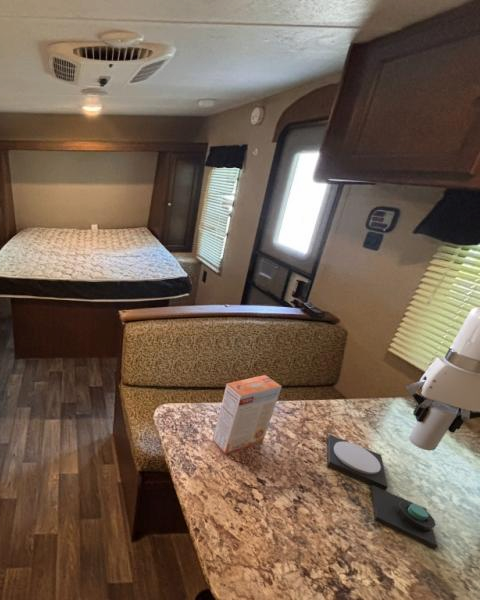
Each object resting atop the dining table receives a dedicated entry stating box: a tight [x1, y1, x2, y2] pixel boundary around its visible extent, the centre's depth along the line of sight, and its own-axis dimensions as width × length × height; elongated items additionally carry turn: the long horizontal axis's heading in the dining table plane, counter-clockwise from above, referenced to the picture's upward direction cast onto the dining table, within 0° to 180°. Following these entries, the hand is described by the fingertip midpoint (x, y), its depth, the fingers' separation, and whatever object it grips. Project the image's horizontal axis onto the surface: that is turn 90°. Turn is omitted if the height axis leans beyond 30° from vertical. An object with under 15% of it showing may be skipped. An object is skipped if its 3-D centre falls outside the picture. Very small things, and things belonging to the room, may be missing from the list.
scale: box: [326, 434, 389, 491], centre depth 87 cm, size 12×12×3 cm
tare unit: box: [369, 485, 438, 550], centre depth 74 cm, size 10×10×3 cm
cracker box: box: [212, 374, 283, 455], centre depth 89 cm, size 14×6×21 cm, turn 108°
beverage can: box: [408, 401, 458, 451], centre depth 77 cm, size 5×5×12 cm
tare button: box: [407, 503, 429, 521], centre depth 72 cm, size 3×3×2 cm
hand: (433, 423), depth 77 cm, fingers closed on beverage can, 4 cm apart
